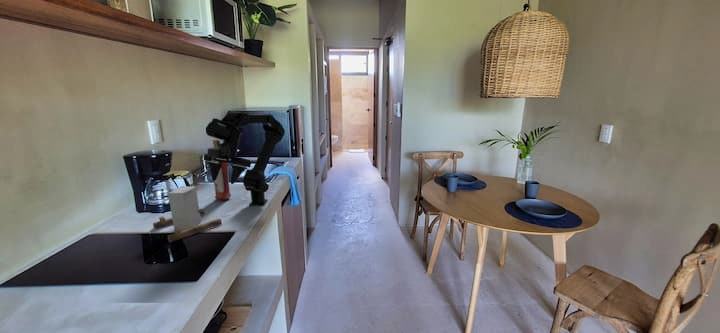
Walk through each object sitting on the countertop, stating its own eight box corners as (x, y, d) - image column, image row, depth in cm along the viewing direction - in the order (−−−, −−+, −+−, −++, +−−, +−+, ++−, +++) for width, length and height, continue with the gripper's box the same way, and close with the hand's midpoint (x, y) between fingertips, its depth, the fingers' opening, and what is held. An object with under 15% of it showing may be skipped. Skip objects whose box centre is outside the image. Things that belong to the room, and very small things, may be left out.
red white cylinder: (211, 200, 141) (203, 140, 133) (223, 195, 147) (216, 137, 140) (223, 202, 138) (215, 141, 131) (235, 197, 145) (228, 139, 137)
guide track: (202, 212, 128) (201, 205, 127) (222, 224, 117) (220, 216, 116) (153, 227, 114) (151, 219, 113) (170, 242, 104) (168, 233, 103)
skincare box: (189, 231, 112) (183, 193, 108) (173, 231, 112) (166, 193, 108) (202, 221, 120) (196, 185, 116) (187, 221, 120) (181, 185, 116)
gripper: (196, 135, 115) (186, 176, 113) (234, 139, 108) (225, 183, 106) (218, 142, 125) (210, 180, 123) (255, 146, 118) (247, 186, 117)
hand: (222, 182), depth 117 cm, fingers open, 9 cm apart
